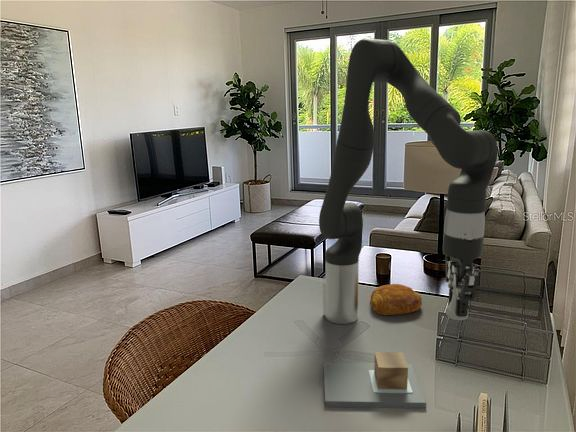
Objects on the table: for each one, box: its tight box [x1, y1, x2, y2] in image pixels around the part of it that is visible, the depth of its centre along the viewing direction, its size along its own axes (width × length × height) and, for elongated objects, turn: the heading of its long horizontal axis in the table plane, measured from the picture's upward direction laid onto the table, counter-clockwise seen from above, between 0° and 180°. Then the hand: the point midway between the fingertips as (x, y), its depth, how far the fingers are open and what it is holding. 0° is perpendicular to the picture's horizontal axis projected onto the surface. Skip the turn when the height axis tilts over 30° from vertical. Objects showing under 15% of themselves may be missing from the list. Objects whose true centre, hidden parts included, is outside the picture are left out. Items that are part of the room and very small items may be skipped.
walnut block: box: [373, 351, 408, 389], centre depth 96 cm, size 6×6×5 cm
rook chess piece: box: [445, 280, 469, 321], centre depth 93 cm, size 4×4×8 cm
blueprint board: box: [323, 362, 427, 409], centre depth 97 cm, size 20×14×1 cm
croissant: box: [369, 283, 423, 316], centre depth 135 cm, size 14×16×8 cm
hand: (457, 310), depth 94 cm, fingers closed on rook chess piece, 4 cm apart
